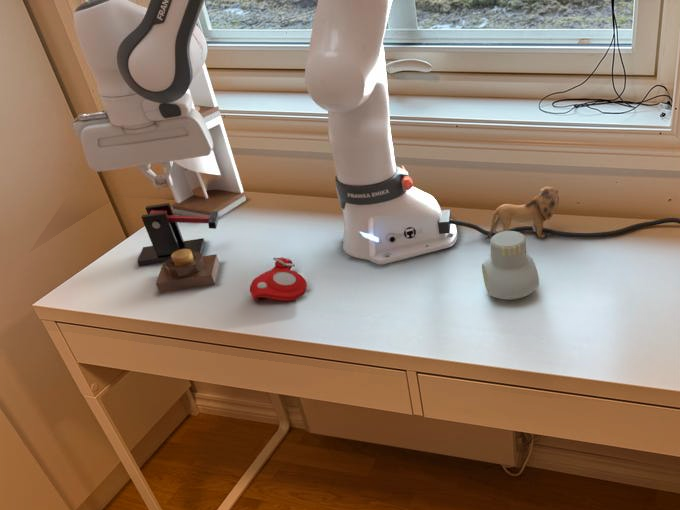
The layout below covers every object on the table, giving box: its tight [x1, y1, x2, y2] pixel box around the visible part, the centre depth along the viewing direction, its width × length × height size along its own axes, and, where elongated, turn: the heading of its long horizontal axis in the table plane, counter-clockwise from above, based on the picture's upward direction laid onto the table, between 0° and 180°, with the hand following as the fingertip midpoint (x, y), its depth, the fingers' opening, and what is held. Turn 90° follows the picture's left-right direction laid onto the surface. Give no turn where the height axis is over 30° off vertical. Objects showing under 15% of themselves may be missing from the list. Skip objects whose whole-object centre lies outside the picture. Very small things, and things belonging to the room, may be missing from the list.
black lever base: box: [136, 202, 206, 267], centre depth 137 cm, size 12×6×10 cm, turn 101°
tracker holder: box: [249, 256, 308, 302], centre depth 125 cm, size 12×4×10 cm
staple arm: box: [150, 210, 220, 230], centre depth 136 cm, size 12×5×2 cm, turn 101°
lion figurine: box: [485, 185, 560, 240], centre depth 133 cm, size 15×5×9 cm, turn 103°
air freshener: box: [481, 230, 540, 301], centre depth 117 cm, size 11×8×10 cm
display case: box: [161, 62, 247, 218], centre depth 146 cm, size 11×11×35 cm
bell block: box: [155, 251, 221, 294], centre depth 130 cm, size 10×8×4 cm
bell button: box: [171, 249, 194, 266], centre depth 129 cm, size 4×4×2 cm
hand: (164, 186), depth 123 cm, fingers closed
